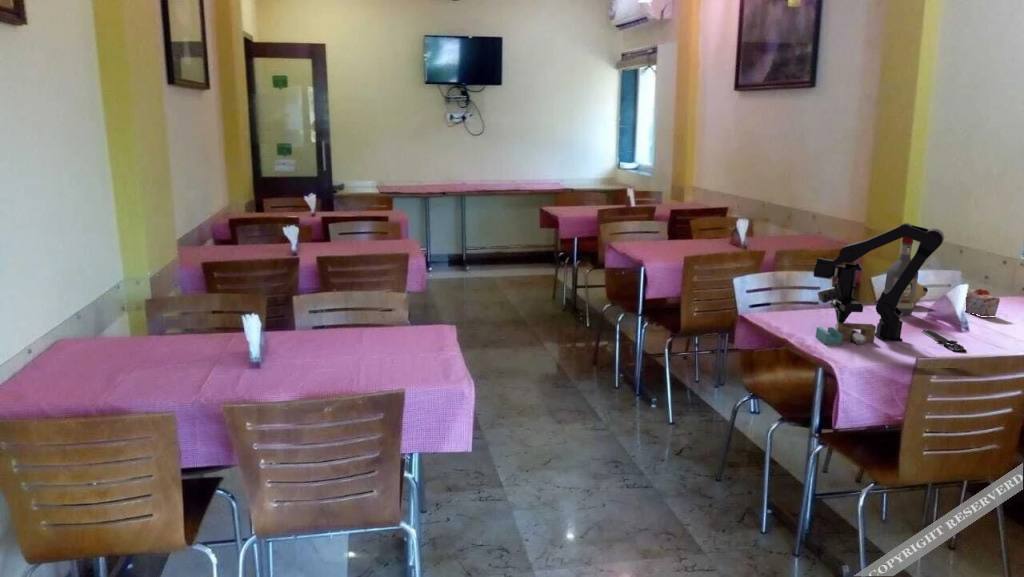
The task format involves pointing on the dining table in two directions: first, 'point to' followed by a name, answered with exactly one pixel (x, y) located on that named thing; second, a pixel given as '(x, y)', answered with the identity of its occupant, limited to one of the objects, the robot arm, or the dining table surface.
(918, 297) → the tan rounded piece
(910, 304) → the liquor
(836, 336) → the cradle
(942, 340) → the knife
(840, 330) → the wooden bridge block
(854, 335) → the axle
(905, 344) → the dining table surface
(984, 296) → the food item
